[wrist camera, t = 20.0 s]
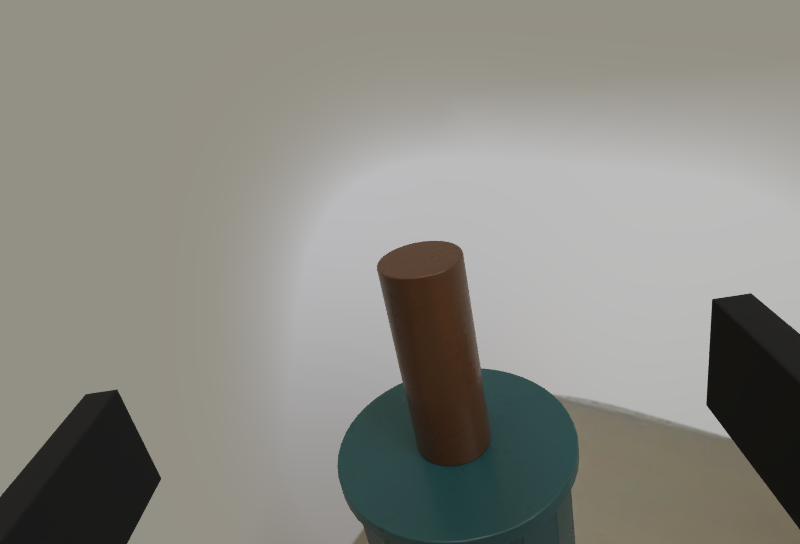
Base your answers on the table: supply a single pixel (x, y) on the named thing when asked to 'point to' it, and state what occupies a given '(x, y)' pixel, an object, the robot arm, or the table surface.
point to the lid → (452, 423)
